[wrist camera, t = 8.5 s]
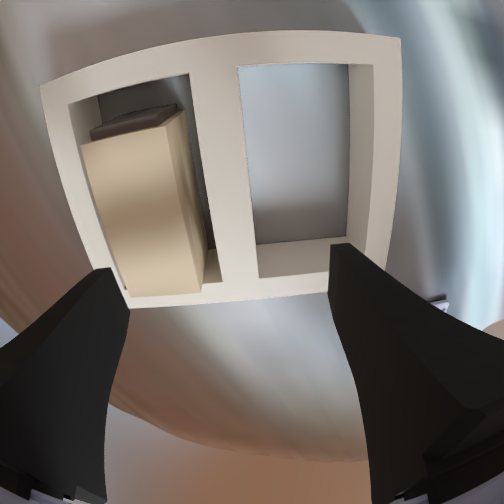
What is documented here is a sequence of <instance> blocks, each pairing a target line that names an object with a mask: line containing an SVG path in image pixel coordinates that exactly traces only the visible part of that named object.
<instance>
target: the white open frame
mask: <svg viewBox="0 0 504 504" xmlns="http://www.w3.org/2000/svg"><path fill="white" fill-rule="evenodd" d="M277 64H348V73H349V101H350V165H349V194H348V213H347V228H346V236H344V237H334V238H323V239H313V240H302V241H292V242H282V243H271V244H261V245H256V242H255V232H254V222H253V212H252V203H251V193H250V183H249V174H248V164H247V154H246V145H245V135H244V126H243V116H242V107H241V98H240V88H239V79H238V70H237V68H238V67H248V66H260V65H277ZM187 74H189V76H190V84H191V91H192V98H193V106H194V113H195V119H196V126H197V133H198V140H199V146H200V153H201V159H202V166H203V172H204V178H205V184H206V190H207V196H208V202H209V208H210V214H211V220H212V225H213V231H214V237H215V242H216V248H217V249H211V250H207V254H206V260H205V267H204V274H203V281H202V289H201V293H193V294H179V295H165V296H151V297H135V298H131V297H130V295H129V293H128V290H127V288H126V285H125V283H124V280H123V278H122V275H121V273H120V270H119V268H118V265H117V263H116V260H115V257H114V255H113V252H112V249H111V246H110V244H109V241H108V238H107V235H106V232H105V229H104V226H103V223H102V220H101V217H100V214H99V211H98V208H97V205H96V202H95V198H94V195H93V192H92V188H91V185H90V181H89V178H88V174H87V170H86V167H85V163H84V159H83V155H82V151H81V147H80V146H81V145H82V144H84V143H86V142H87V141H89V140H91V137H90V133H89V131H90V130H92V129H94V128H96V127H98V126H100V125H102V119H101V114H100V109H99V103H98V98H97V96H99V95H102V94H105V93H109V92H112V91H116V90H119V89H123V88H127V87H131V86H135V85H139V84H143V83H147V82H151V81H156V80H161V79H166V78H171V77H176V76H181V75H187ZM39 88H40V94H41V99H42V105H43V110H44V115H45V119H46V124H47V129H48V133H49V137H50V141H51V145H52V149H53V153H54V157H55V160H56V164H57V168H58V171H59V175H60V178H61V181H62V185H63V188H64V191H65V194H66V197H67V200H68V203H69V206H70V209H71V212H72V215H73V218H74V221H75V223H76V226H77V229H78V231H79V234H80V237H81V239H82V242H83V245H84V247H85V250H86V252H87V255H88V257H89V259H90V262H91V264H92V267H93V269H94V270H95V269H98V268H107V267H111V269H112V271H113V274H114V276H115V279H116V281H117V283H118V286H119V288H120V290H121V293H122V295H123V297H124V299H125V302H126V304H127V306H128V308H148V307H165V306H181V305H195V304H208V303H221V302H233V301H244V300H255V299H265V298H275V297H284V296H294V295H303V294H311V293H320V292H328V280H329V262H330V245H331V244H340V243H350V244H351V245H353V246H354V247H355V248H357V249H358V250H359V251H360V252H362V253H363V254H364V255H365V256H367V257H368V258H369V259H370V260H372V261H373V262H374V263H375V264H377V265H378V266H379V267H380V268H382V269H383V270H384V271H385V267H386V262H387V256H388V250H389V244H390V238H391V232H392V225H393V218H394V211H395V203H396V194H397V185H398V174H399V163H400V149H401V130H402V56H401V39H400V38H396V37H389V36H382V35H374V34H365V33H354V32H341V31H321V30H280V31H259V32H246V33H235V34H226V35H218V36H210V37H204V38H197V39H191V40H186V41H180V42H175V43H170V44H165V45H161V46H156V47H152V48H148V49H144V50H140V51H136V52H132V53H129V54H125V55H122V56H118V57H115V58H112V59H108V60H105V61H102V62H99V63H96V64H93V65H90V66H87V67H85V68H82V69H79V70H77V71H74V72H71V73H69V74H66V75H64V76H61V77H59V78H56V79H54V80H52V81H49V82H47V83H45V84H43V85H40V86H39Z"/></svg>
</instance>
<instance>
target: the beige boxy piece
mask: <svg viewBox="0 0 504 504" xmlns="http://www.w3.org/2000/svg"><path fill="white" fill-rule="evenodd" d="M89 133H90V137H91V140H89V141H87V142H86V143H84V144H82V145H81V146H80V147H81V151H82V155H83V159H84V163H85V167H86V170H87V174H88V178H89V181H90V185H91V188H92V192H93V195H94V198H95V202H96V205H97V208H98V211H99V214H100V217H101V220H102V223H103V226H104V229H105V232H106V235H107V238H108V241H109V244H110V246H111V249H112V252H113V255H114V257H115V260H116V263H117V265H118V268H119V270H120V273H121V275H122V278H123V280H124V283H125V285H126V288H127V290H128V293H129V295H130V297H131V298H135V297H151V296H165V295H179V294H193V293H201V289H202V281H203V274H204V267H205V260H206V254H207V247H208V240H207V235H206V230H205V224H204V219H203V213H202V208H201V202H200V197H199V191H198V185H197V180H196V174H195V168H194V162H193V156H192V150H191V143H190V137H189V131H188V124H187V118H186V111H179V112H177V107H176V104H171V105H166V106H161V107H156V108H151V109H146V110H142V111H137V112H133V113H129V114H125V115H121V116H119V117H117V118H114V119H112V120H110V121H108V122H106V123H104V124H102V125H100V126H98V127H96V128H94V129H92V130H90V131H89Z"/></svg>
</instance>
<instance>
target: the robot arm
mask: <svg viewBox="0 0 504 504" xmlns="http://www.w3.org/2000/svg"><path fill="white" fill-rule="evenodd" d="M328 299H329V303H330V308H331V312H332V316H333V320H334V323H335V326H336V329H337V332H338V335H339V337H340V340H341V343H342V346H343V349H344V351H345V354H346V357H347V360H348V363H349V366H350V368H351V371H352V374H353V377H354V381H355V384H356V388H357V392H358V397H359V402H360V407H361V412H362V418H363V424H364V430H365V436H366V443H367V451H368V459H369V468H370V480H371V499H372V504H504V340H502V339H499V338H497V337H494V336H492V335H489V334H487V333H485V332H483V331H481V330H478V329H476V328H474V327H472V326H470V325H468V324H466V323H464V322H462V321H460V320H458V319H456V318H454V317H453V316H451V315H449V314H447V313H446V311H447V308H448V306H449V302H448V301H447V300H441V301H436V302H431V303H429V302H427V301H426V300H424V299H423V298H421V297H420V296H418V295H417V294H415V293H414V292H412V291H411V290H410V289H408V288H407V287H405V286H404V285H403V284H401V283H400V282H398V281H397V280H396V279H394V278H393V277H392V276H391V275H389V274H388V273H387V272H385V271H384V270H383V269H382V268H380V267H379V266H378V265H377V264H375V263H374V262H373V261H372V260H370V259H369V258H368V257H367V256H365V255H364V254H363V253H362V252H360V251H359V250H358V249H357V248H355V247H354V246H353V245H351V244H350V243H340V244H331V245H330V262H329V280H328ZM129 316H130V310H129V308H128V306H127V304H126V302H125V299H124V297H123V295H122V293H121V290H120V288H119V286H118V283H117V281H116V279H115V276H114V274H113V271H112V269H111V267H107V268H98V269H95V270H93V271H92V272H91V273H89V274H88V275H87V276H85V277H84V278H83V279H82V280H81V281H79V282H78V283H77V284H76V285H75V286H74V287H73V288H71V289H70V290H69V291H68V292H67V293H66V294H65V295H64V296H63V297H62V298H60V299H59V300H58V301H57V302H56V303H55V304H54V305H53V306H52V307H50V308H49V309H48V310H47V311H46V312H45V313H44V314H43V315H41V316H40V317H39V318H38V319H37V320H36V321H35V322H34V323H32V324H31V325H30V326H29V327H28V328H26V329H25V330H24V331H23V332H21V333H20V334H19V335H18V336H16V337H15V338H14V339H13V340H11V341H10V342H9V343H7V344H6V345H4V346H3V347H1V348H0V504H71V503H68V502H65V501H63V498H66V499H69V500H72V501H73V500H74V499H77V500H80V501H84V502H87V503H91V504H104V503H106V502H107V494H106V486H105V474H104V440H105V425H106V415H107V407H108V401H109V396H110V391H111V387H112V384H113V380H114V376H115V373H116V369H117V366H118V363H119V359H120V356H121V352H122V349H123V346H124V342H125V339H126V334H127V329H128V322H129Z"/></svg>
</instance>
